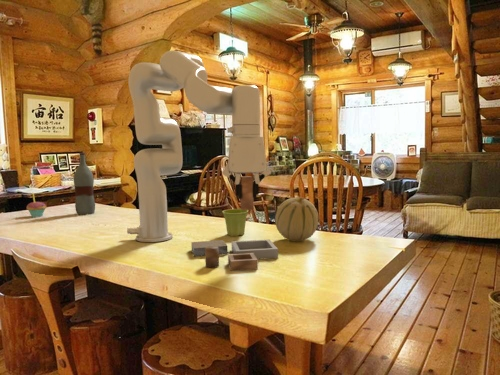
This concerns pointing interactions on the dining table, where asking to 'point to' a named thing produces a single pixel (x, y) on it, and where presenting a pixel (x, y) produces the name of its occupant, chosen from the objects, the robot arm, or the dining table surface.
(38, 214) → the cupcake
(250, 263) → the socket block
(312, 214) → the cantaloupe
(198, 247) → the grey rectangular block
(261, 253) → the tray
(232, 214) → the plant pot
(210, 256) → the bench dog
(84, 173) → the bottle
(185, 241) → the dining table surface
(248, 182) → the dowel
